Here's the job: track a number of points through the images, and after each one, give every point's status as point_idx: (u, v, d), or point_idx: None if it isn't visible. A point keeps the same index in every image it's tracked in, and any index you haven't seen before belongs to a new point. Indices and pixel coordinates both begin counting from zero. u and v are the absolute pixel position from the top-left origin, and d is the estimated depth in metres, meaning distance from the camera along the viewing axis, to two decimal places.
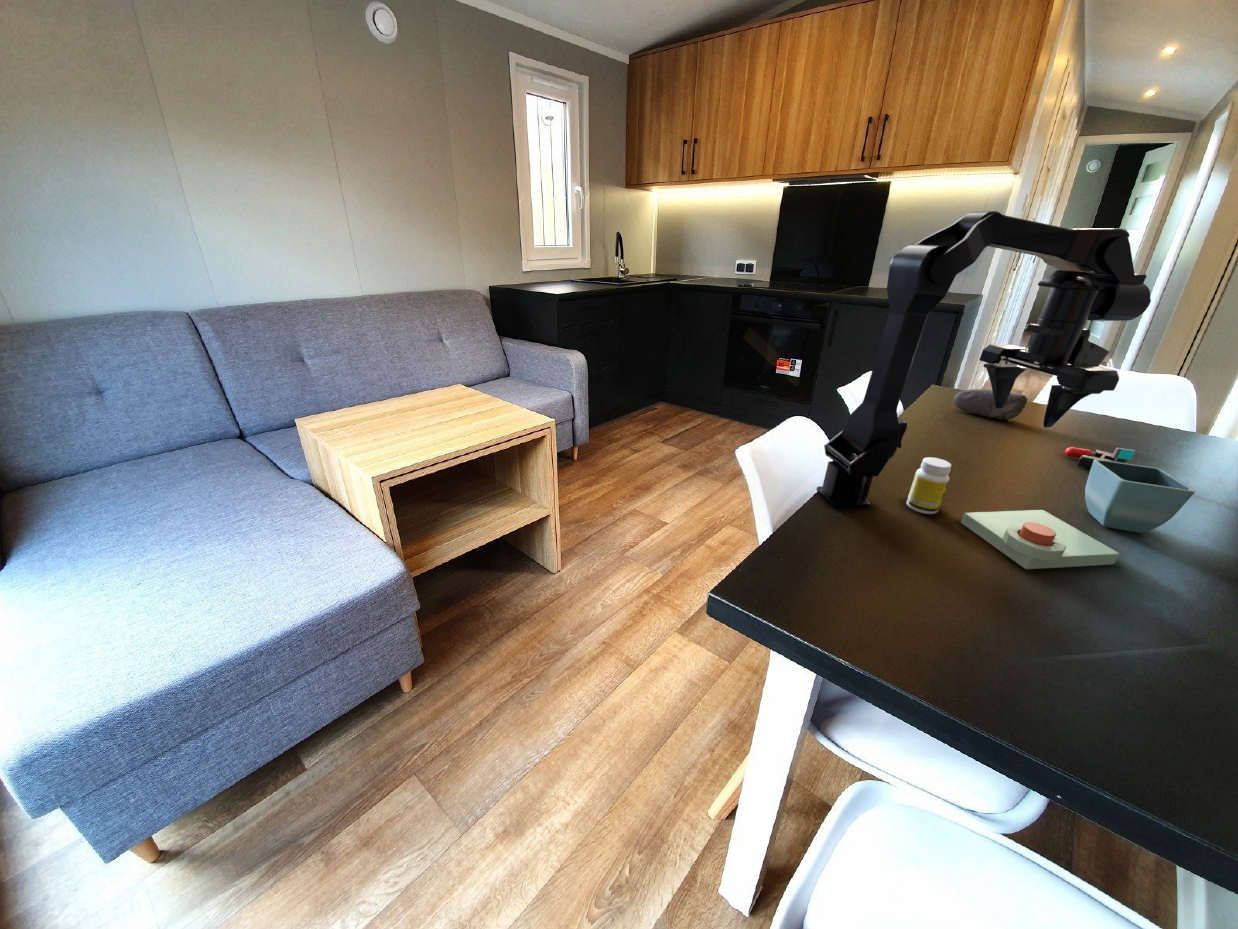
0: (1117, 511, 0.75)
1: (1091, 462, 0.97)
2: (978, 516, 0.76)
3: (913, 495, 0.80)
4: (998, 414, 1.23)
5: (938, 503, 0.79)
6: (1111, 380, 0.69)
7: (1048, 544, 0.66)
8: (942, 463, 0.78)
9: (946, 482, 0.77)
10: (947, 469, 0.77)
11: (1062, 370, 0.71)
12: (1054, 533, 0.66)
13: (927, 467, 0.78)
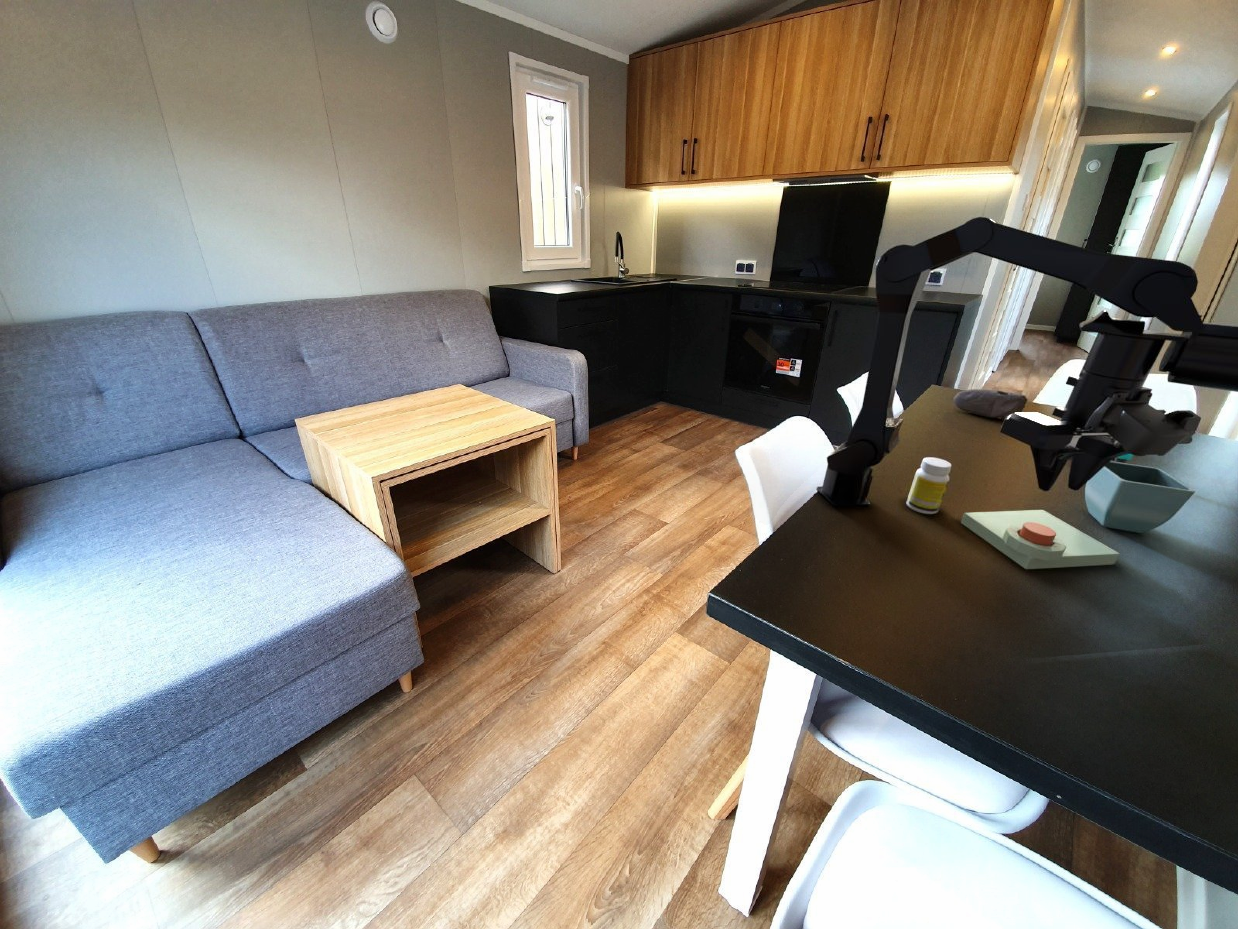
0: (1117, 511, 0.75)
1: None
2: (978, 516, 0.76)
3: (913, 495, 0.80)
4: (998, 414, 1.23)
5: (938, 503, 0.79)
6: (1030, 431, 0.59)
7: (1048, 544, 0.66)
8: (942, 463, 0.78)
9: (946, 482, 0.77)
10: (947, 469, 0.77)
11: None
12: (1054, 533, 0.66)
13: (927, 467, 0.78)
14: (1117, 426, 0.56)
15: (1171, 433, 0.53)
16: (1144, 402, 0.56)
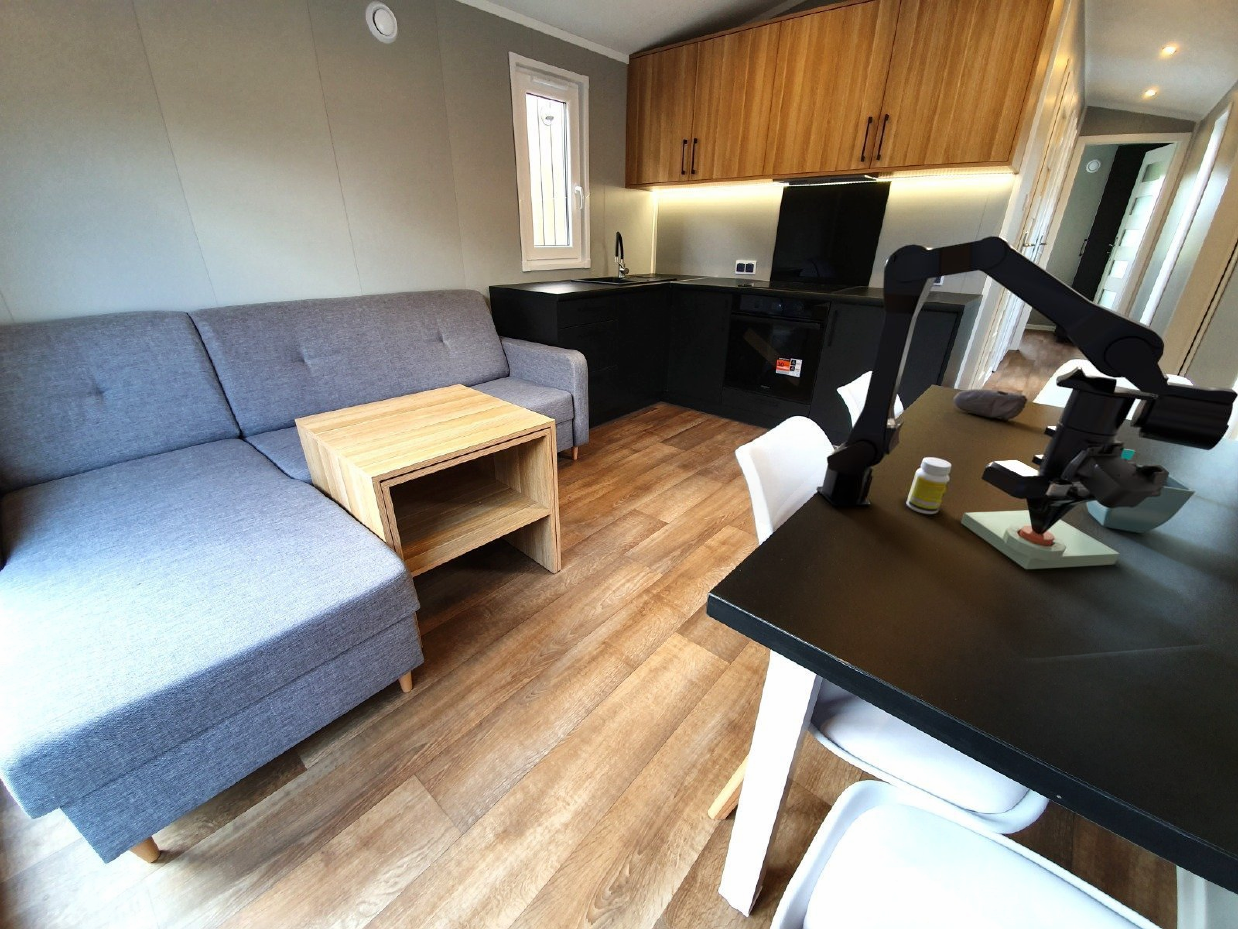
0: (1117, 511, 0.75)
1: None
2: (978, 516, 0.76)
3: (913, 495, 0.80)
4: (998, 414, 1.23)
5: (938, 503, 0.79)
6: (1009, 481, 0.62)
7: None
8: (942, 463, 0.78)
9: (946, 482, 0.77)
10: (947, 469, 0.77)
11: None
12: (1052, 537, 0.67)
13: (927, 467, 0.78)
14: (1090, 478, 0.58)
15: (1140, 488, 0.55)
16: (1117, 455, 0.59)
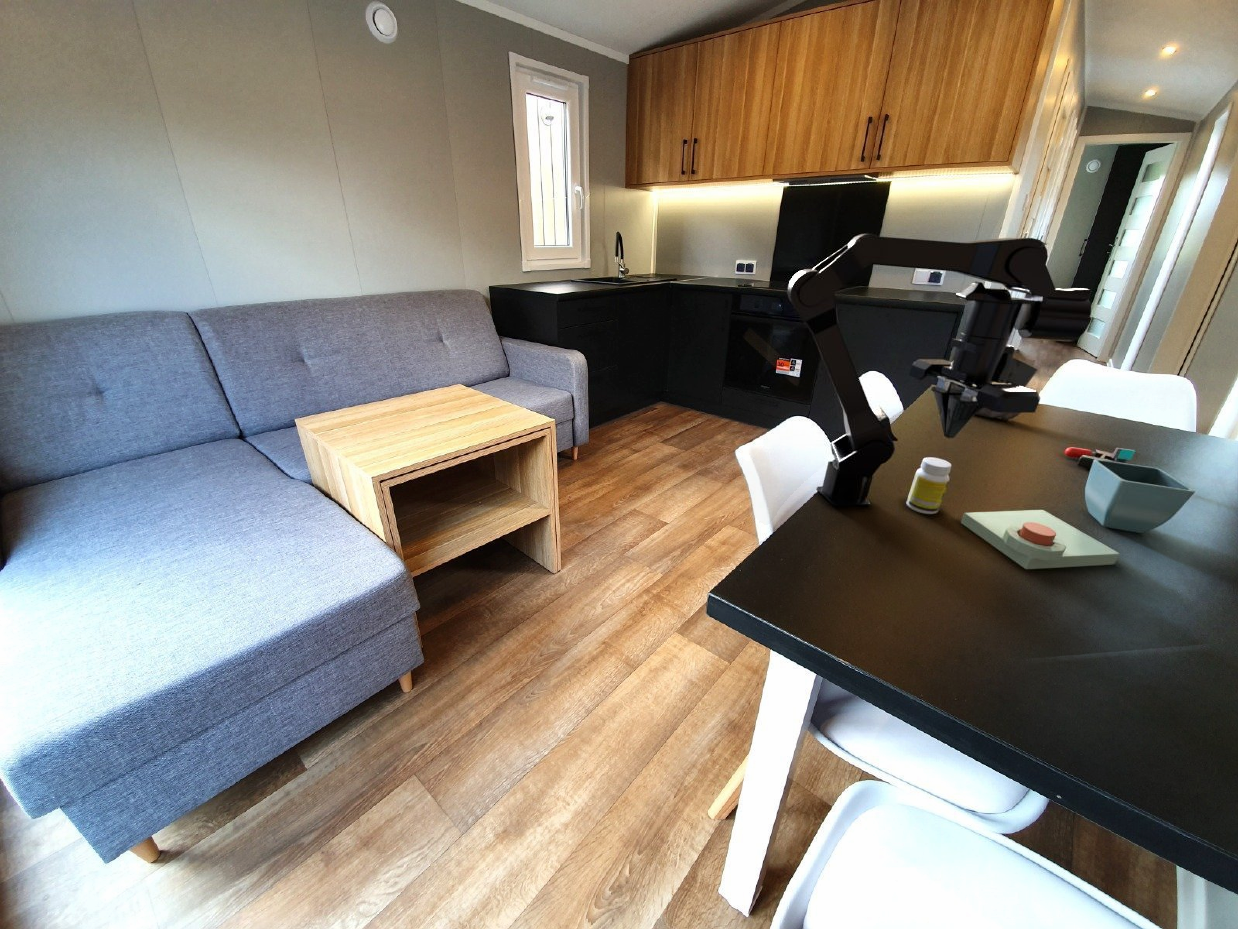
0: (1117, 511, 0.75)
1: (1091, 462, 0.97)
2: (978, 516, 0.76)
3: (913, 495, 0.80)
4: (998, 414, 1.23)
5: (938, 503, 0.79)
6: (1030, 401, 0.64)
7: (1048, 544, 0.66)
8: (942, 463, 0.78)
9: (946, 482, 0.77)
10: (947, 469, 0.77)
11: (981, 389, 0.66)
12: (1054, 533, 0.66)
13: (927, 467, 0.78)
14: (1016, 373, 0.70)
15: None
16: None
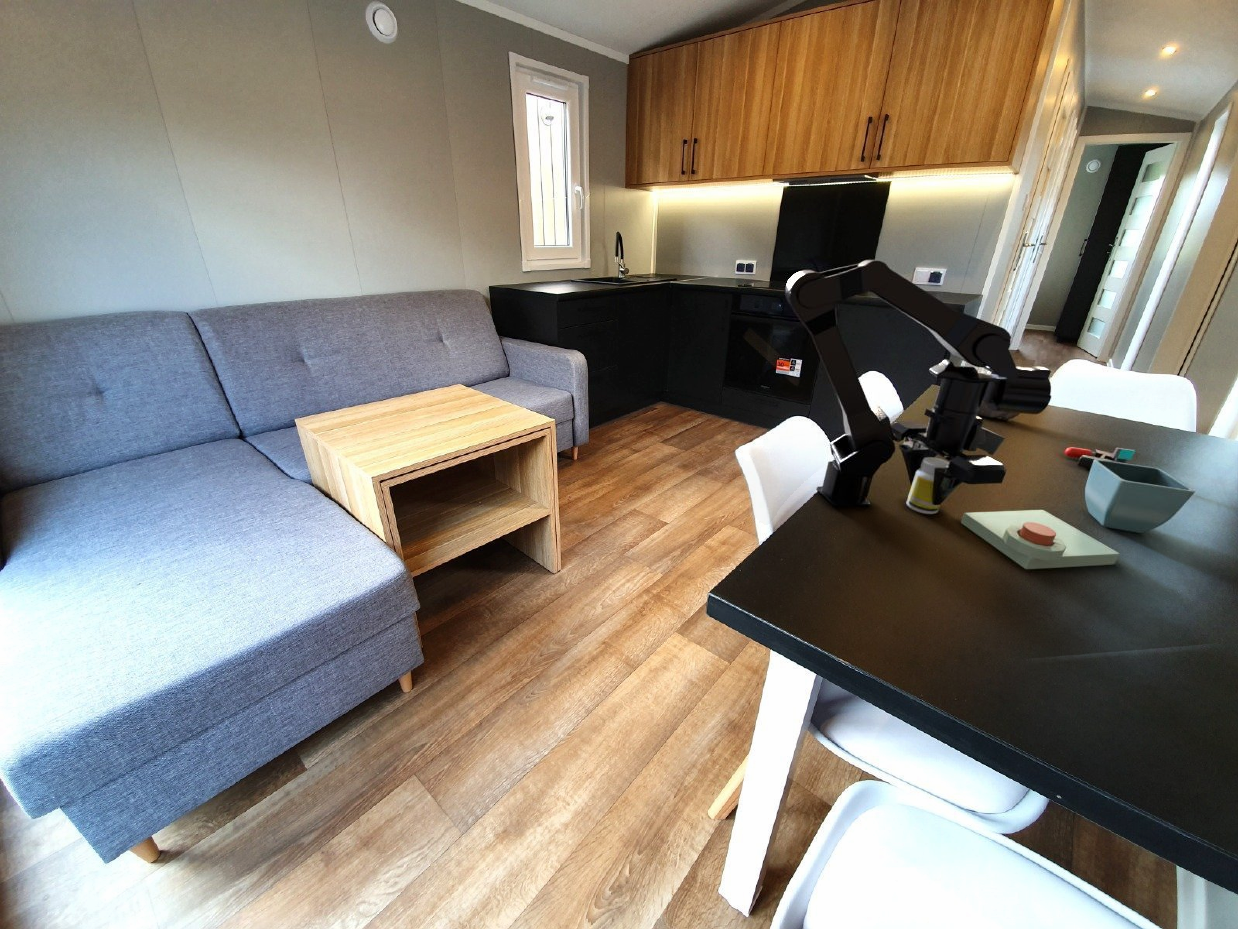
0: (1117, 511, 0.75)
1: (1091, 462, 0.97)
2: (978, 516, 0.76)
3: (913, 495, 0.80)
4: (998, 414, 1.23)
5: None
6: (997, 473, 0.69)
7: (1048, 544, 0.66)
8: (942, 463, 0.78)
9: None
10: None
11: (952, 461, 0.71)
12: (1054, 533, 0.66)
13: (927, 467, 0.78)
14: (985, 442, 0.75)
15: (994, 433, 0.77)
16: None
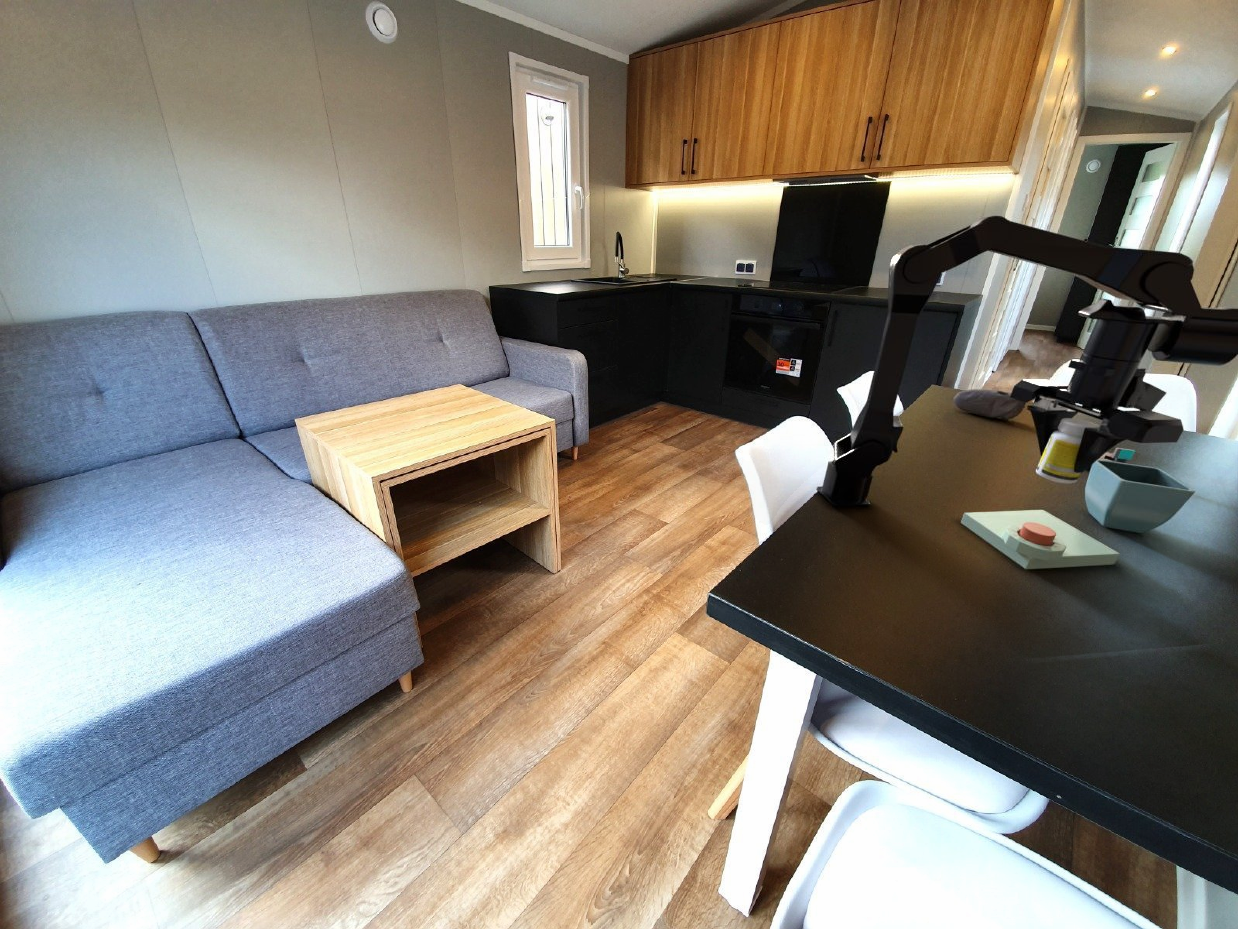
0: (1117, 511, 0.75)
1: None
2: (978, 516, 0.76)
3: (1049, 461, 0.70)
4: (998, 414, 1.23)
5: None
6: (1174, 430, 0.58)
7: (1048, 544, 0.66)
8: (1087, 424, 0.67)
9: None
10: None
11: (1114, 417, 0.61)
12: (1054, 533, 0.66)
13: (1070, 428, 0.67)
14: (1144, 397, 0.64)
15: None
16: None
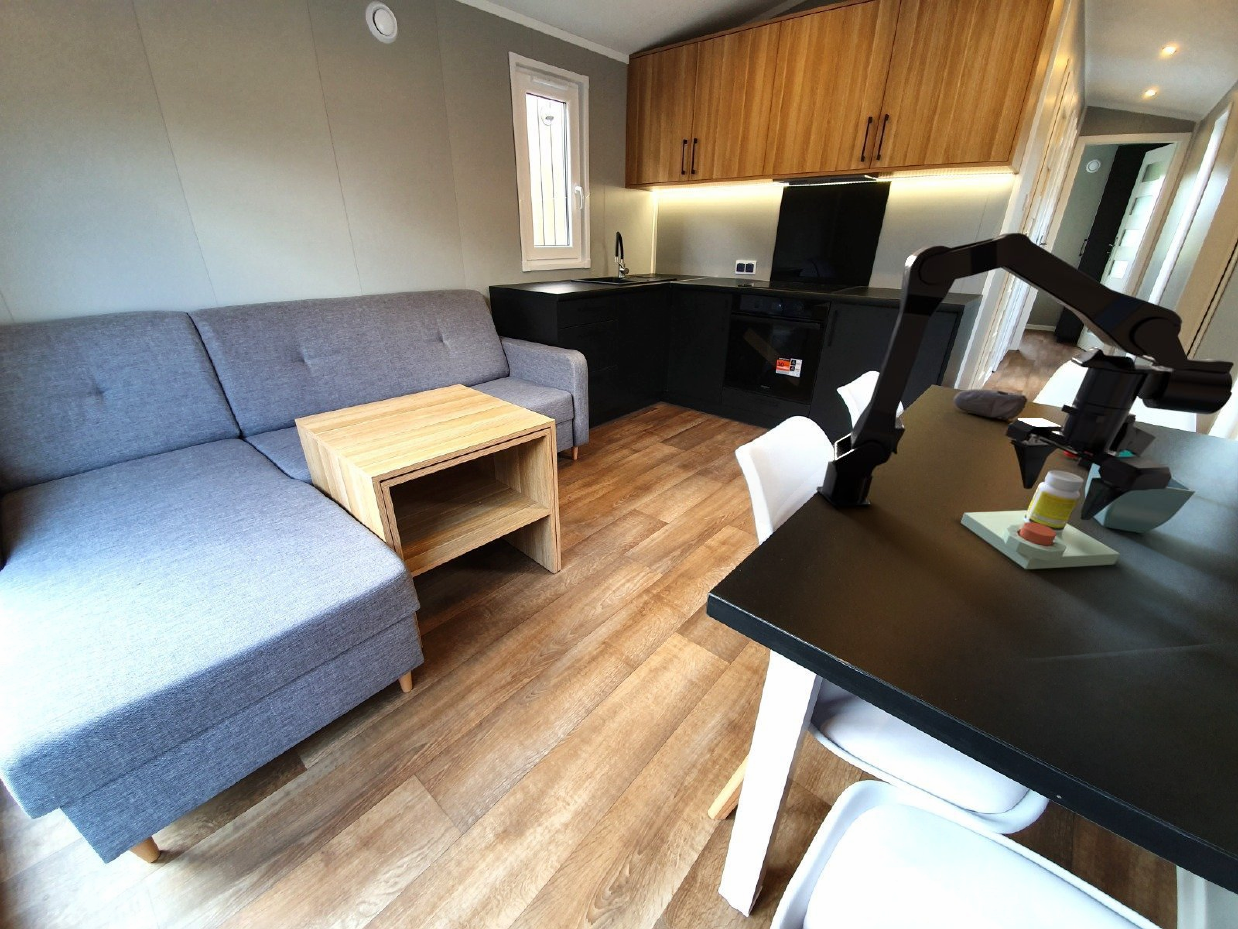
0: (1117, 511, 0.75)
1: None
2: (978, 516, 0.76)
3: (1036, 512, 0.73)
4: (998, 414, 1.23)
5: (1065, 521, 0.71)
6: (1162, 478, 0.60)
7: (1048, 544, 0.66)
8: (1072, 477, 0.70)
9: (1077, 499, 0.70)
10: (1080, 484, 0.69)
11: (1105, 463, 0.63)
12: (1054, 533, 0.66)
13: (1055, 481, 0.70)
14: (1134, 441, 0.66)
15: None
16: None
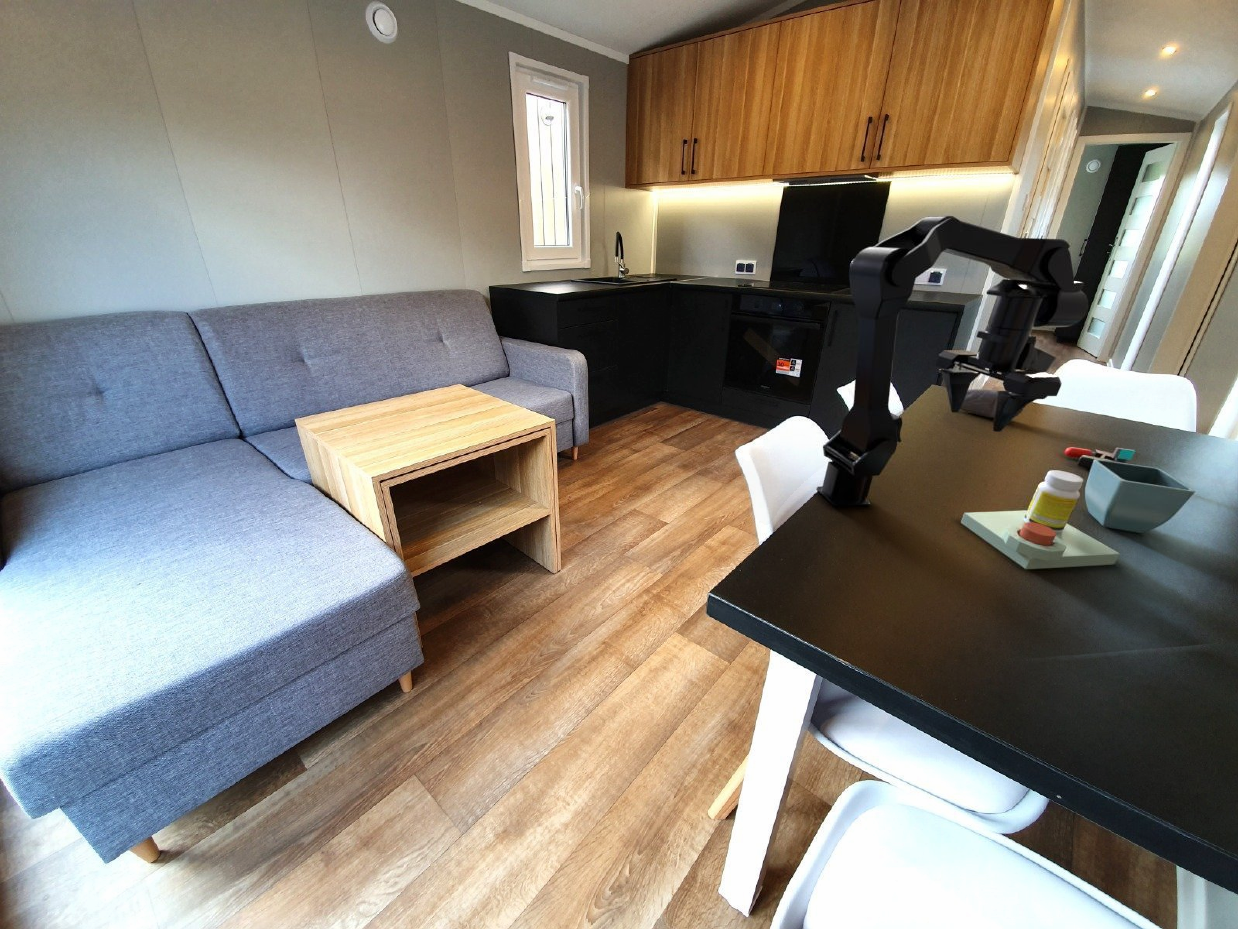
0: (1117, 511, 0.75)
1: (1091, 462, 0.97)
2: (978, 516, 0.76)
3: (1036, 512, 0.73)
4: None
5: (1065, 521, 0.71)
6: (1053, 385, 0.71)
7: (1048, 544, 0.66)
8: (1072, 477, 0.70)
9: (1077, 499, 0.70)
10: (1079, 484, 0.69)
11: (1007, 376, 0.73)
12: (1054, 533, 0.66)
13: (1055, 481, 0.70)
14: (1037, 361, 0.77)
15: None
16: None
